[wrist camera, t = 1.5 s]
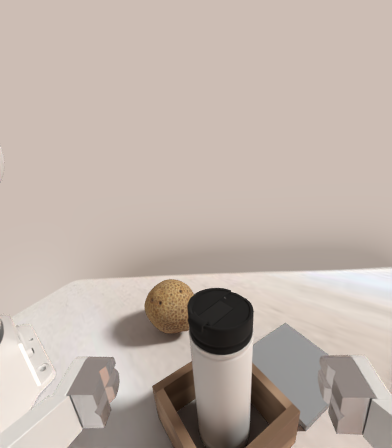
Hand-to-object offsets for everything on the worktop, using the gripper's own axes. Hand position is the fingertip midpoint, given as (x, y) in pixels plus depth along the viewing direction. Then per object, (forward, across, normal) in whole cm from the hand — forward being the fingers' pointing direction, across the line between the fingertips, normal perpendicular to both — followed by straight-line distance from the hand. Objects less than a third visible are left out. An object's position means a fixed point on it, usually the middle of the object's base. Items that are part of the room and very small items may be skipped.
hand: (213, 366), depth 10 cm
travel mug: (+13, +1, +27) cm, 30 cm away
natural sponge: (+29, +9, +26) cm, 40 cm away
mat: (+21, -10, +26) cm, 35 cm away
